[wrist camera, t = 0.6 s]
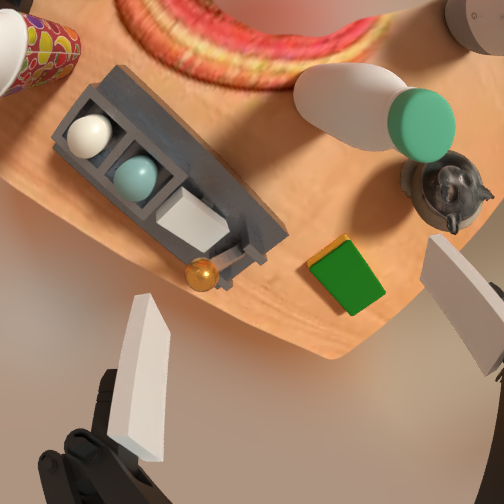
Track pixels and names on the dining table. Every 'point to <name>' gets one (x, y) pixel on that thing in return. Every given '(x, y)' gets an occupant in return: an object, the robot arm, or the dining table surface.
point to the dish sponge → (346, 275)
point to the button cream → (89, 135)
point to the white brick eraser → (191, 220)
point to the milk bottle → (375, 110)
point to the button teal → (135, 178)
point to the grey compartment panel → (169, 171)
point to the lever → (211, 268)
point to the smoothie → (34, 51)
